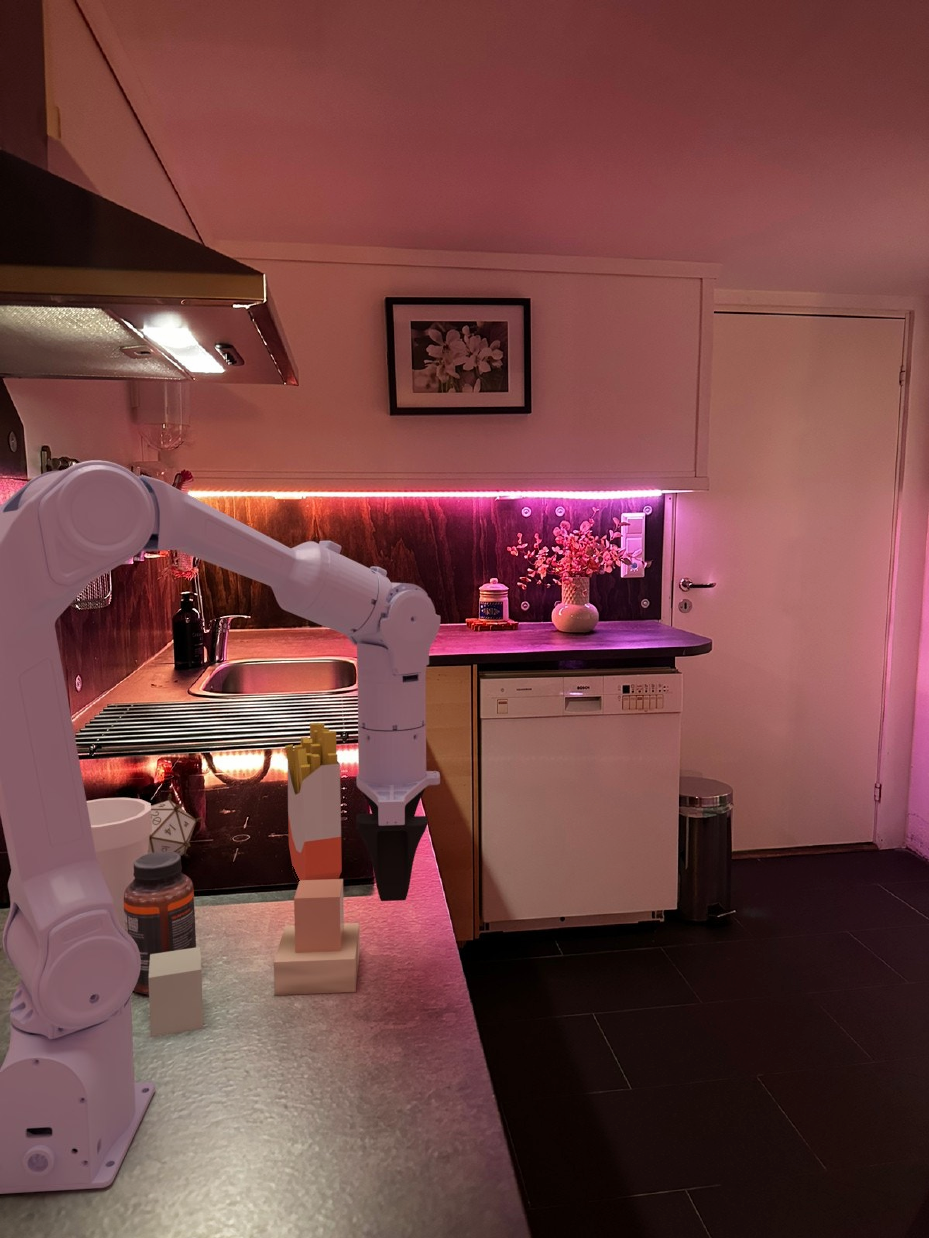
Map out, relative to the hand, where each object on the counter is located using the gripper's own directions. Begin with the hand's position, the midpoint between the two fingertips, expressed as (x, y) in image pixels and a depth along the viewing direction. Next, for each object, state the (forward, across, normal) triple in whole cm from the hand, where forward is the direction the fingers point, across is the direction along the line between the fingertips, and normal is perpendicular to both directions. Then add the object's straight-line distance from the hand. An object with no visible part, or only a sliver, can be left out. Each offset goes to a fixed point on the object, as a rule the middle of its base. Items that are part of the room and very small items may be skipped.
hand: (393, 880), depth 71 cm
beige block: (+10, -2, +18) cm, 21 cm away
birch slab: (+10, +4, +7) cm, 13 cm away
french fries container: (+11, +27, +10) cm, 31 cm away
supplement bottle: (+11, +4, +21) cm, 24 cm away
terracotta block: (+7, +4, +7) cm, 11 cm away
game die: (+11, +33, +29) cm, 45 cm away
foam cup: (+11, +13, +29) cm, 34 cm away
